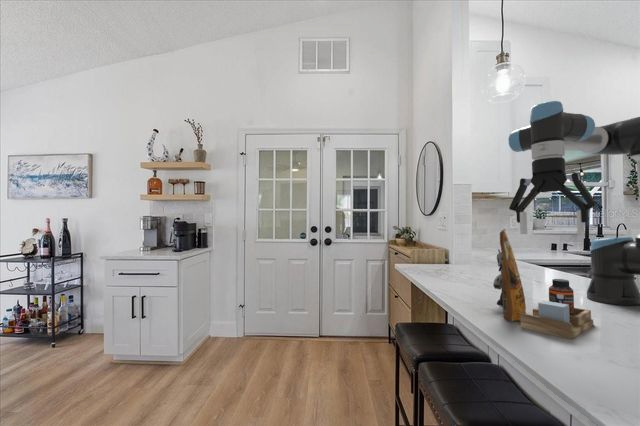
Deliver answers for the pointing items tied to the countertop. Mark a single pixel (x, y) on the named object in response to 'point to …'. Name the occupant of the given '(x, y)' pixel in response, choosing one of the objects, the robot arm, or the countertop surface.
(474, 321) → the countertop surface
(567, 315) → the wing block
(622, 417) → the countertop surface
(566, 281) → the supplement bottle
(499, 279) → the robot
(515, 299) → the pancake mix bag
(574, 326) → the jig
